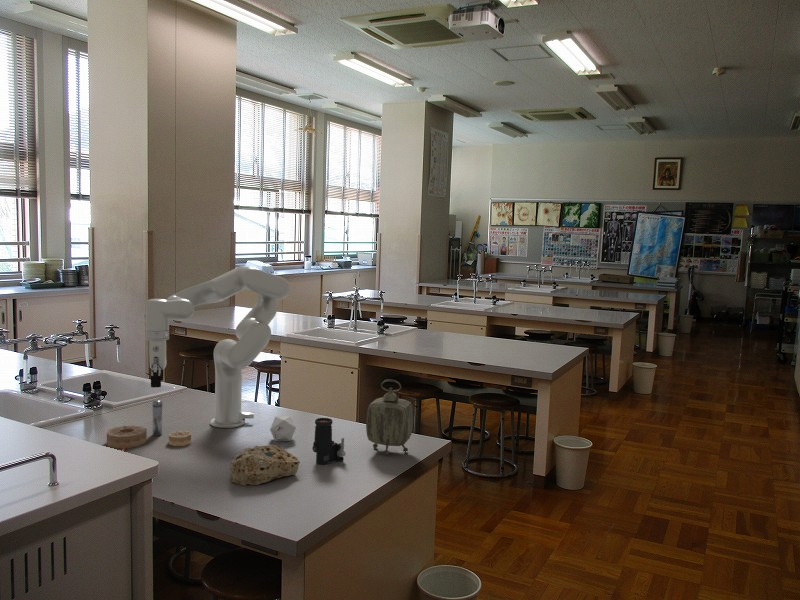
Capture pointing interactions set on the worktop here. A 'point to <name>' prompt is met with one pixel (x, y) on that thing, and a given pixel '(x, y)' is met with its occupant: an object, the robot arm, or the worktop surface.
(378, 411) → the tabletop clock
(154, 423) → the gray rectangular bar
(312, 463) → the worktop surface
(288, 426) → the die
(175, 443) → the beige short cylinder
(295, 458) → the rock
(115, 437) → the bead
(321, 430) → the scope
